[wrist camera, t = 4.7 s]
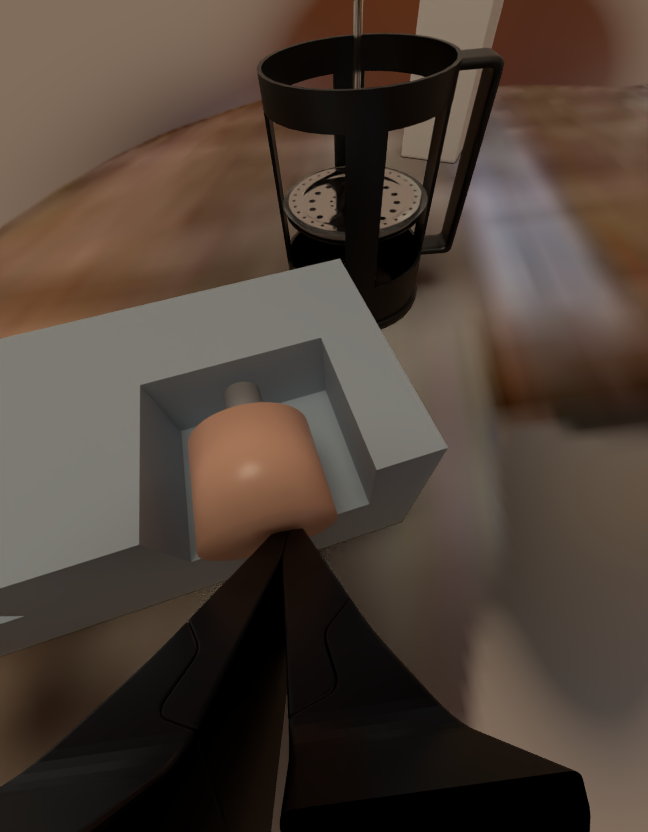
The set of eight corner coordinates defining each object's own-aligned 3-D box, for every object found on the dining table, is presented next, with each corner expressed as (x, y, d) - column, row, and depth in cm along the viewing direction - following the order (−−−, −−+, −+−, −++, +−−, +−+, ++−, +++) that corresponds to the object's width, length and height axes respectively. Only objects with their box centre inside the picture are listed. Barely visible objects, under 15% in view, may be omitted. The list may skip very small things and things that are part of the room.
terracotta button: (339, 529, 10) (336, 493, 7) (225, 567, 10) (168, 546, 7) (300, 408, 12) (285, 341, 9) (208, 434, 12) (161, 373, 9)
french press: (280, 339, 22) (-236, -1829, 2) (283, 258, 27) (120, -677, 7) (452, 327, 22) (1425, -2265, 2) (424, 247, 27) (640, -759, 7)
